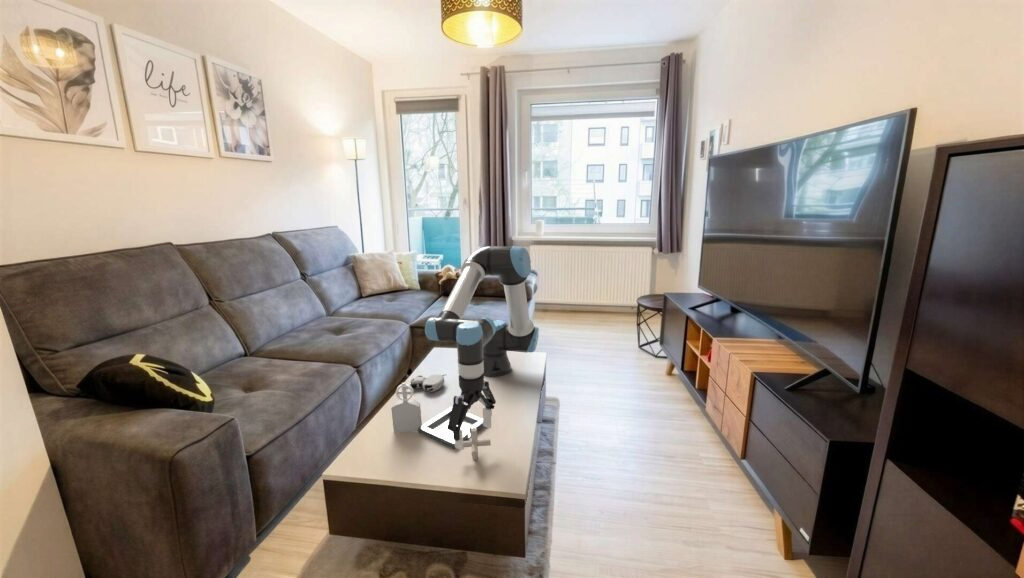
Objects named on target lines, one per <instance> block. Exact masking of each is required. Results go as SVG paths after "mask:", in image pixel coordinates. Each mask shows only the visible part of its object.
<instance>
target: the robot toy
mask: <svg viewBox="0 0 1024 578" xmlns="http://www.w3.org/2000/svg"><path fill="white" fill-rule="evenodd" d="M444 376H447V374H446V373H445V374H431V375H429V376H428V377H425V376H423V375H417V376H415V377H414V378H412V379H411V380H410V384H409V385H410V386H411V387H412V388H413V390H414V389H423V390H424V391H426V392H427V391H428V392H435V391H438V390H439V389H440V388H442V387H443V385H444V384H445V377H444ZM406 390H410V389H409V388H407V387H406Z"/></svg>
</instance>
